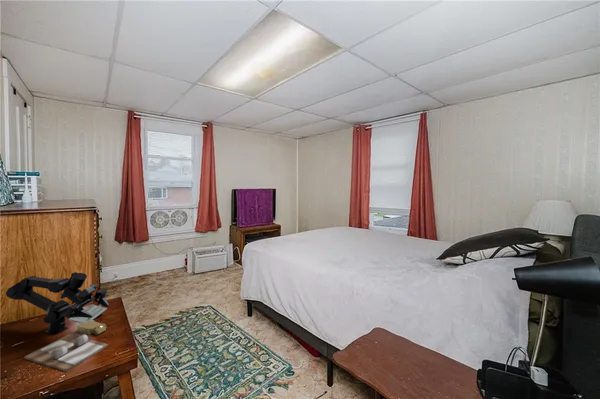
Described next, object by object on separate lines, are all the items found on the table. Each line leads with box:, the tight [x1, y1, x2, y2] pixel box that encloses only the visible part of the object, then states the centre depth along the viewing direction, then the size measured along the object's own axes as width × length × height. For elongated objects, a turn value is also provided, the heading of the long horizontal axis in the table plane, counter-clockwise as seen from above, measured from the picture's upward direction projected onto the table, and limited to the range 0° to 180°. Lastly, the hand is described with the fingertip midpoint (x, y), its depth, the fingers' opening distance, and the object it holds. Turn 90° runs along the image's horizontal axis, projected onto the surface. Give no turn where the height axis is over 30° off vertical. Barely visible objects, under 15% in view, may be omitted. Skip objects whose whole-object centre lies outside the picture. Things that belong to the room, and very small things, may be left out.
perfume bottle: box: [76, 320, 108, 336], centre depth 133 cm, size 13×6×4 cm, turn 78°
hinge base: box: [23, 333, 109, 372], centre depth 116 cm, size 24×18×5 cm
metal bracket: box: [67, 304, 108, 324], centre depth 145 cm, size 14×6×15 cm
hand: (100, 311), depth 128 cm, fingers open, 9 cm apart
